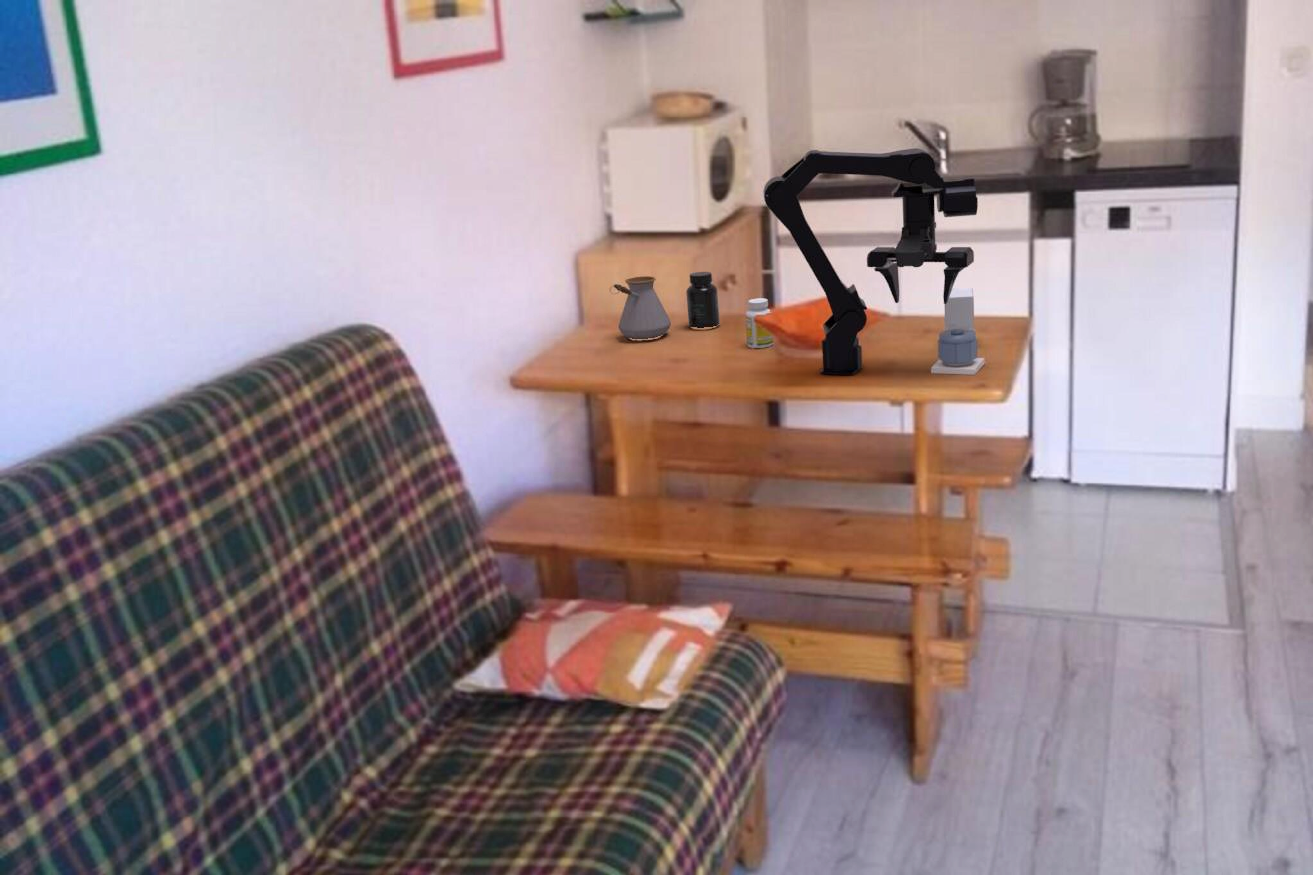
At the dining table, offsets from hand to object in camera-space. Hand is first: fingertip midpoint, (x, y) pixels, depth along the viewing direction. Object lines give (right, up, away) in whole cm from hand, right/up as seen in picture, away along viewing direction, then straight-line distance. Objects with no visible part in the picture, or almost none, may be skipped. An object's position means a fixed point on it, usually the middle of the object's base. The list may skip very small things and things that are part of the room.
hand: (921, 303), depth 255 cm
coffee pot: (-53, -5, +40) cm, 67 cm away
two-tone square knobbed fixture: (+7, -12, 0) cm, 14 cm away
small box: (+11, -7, +16) cm, 20 cm away
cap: (+7, -10, -1) cm, 12 cm away
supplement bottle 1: (-39, -1, +49) cm, 62 cm away
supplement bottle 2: (-28, -6, +28) cm, 40 cm away
